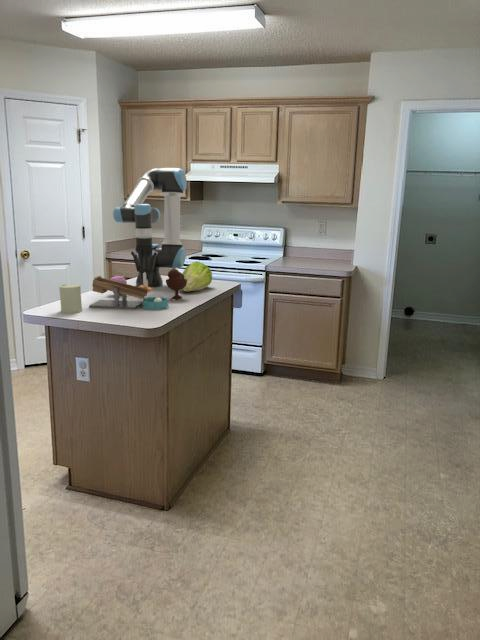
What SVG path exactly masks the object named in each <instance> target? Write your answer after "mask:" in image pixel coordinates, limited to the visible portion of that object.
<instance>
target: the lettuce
mask: <svg viewBox="0 0 480 640" xmlns="http://www.w3.org/2000/svg"><path fill="white" fill-rule="evenodd" d="M181 273H182V274H183V275H184V279H187V284H186V286H185V287H184V288H183V289H182V290H183V291H185V292H192V291H193V292H195V291H203V290H204V289H206V288H208V286H209V285H210V284H211V283H212V280H213V273H212V270H211V268H210V267H209V266H208V265H206V264H205V263H204V262H200V261H198V260H197V261H195V262H191V263H190V264H188V265H187V266H186V267H185V269H184V270H183V272H181Z"/></svg>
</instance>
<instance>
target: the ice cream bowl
mask: <svg viewBox="0 0 480 640" xmlns="http://www.w3.org/2000/svg"><path fill="white" fill-rule="evenodd" d="M182 273H183V272H180V271H179V270H178V269H177V268H171V269H170V270H169V271H168V273H167V277H168V278H166V279H165V283H166V286H167V287H168V289H171V290H172V291H174V295H173V296H172V297H171V299H172V300H173V299H176V301H177V300H178V299H180V300H182V299H183V297H182V296H181V295H179V292H180V291H181V290H183V288H184V287H185V286H186V284H187V279H184V275H183V274H182Z"/></svg>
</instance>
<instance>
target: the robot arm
mask: <svg viewBox="0 0 480 640" xmlns="http://www.w3.org/2000/svg"><path fill="white" fill-rule="evenodd" d="M187 186H188V181H187V176H186V174H185V171H184V169H183V168H179V167H155V168H151V169H149V170H147V171H145V172H144V173H142V174H141V175H140V176H139V178H138V179H137V181H136V186H135V187H134V189H133V190H132V191H131V192H130V194H129V196H128V197H127V199H126V200H125V202H124V203H123V205H122V206H116V207H114V209H113V211H112V212H113V213H112V216H113V219H114V221H115V222H117V223H123V224H125V223H127V224H128V223H130V224H131V223H132V224H133V223H134V225H135V237H136V238H135V245H136V246H135V249H134V250H133V251H131V252H130V254H131V255H132V257H133V262H134V265H135V269H136V271H137V272H138V273H137V277H136V280H135V286H136V287H139V286H141V285H143V287H151V288H159V287H162V286H163V285H164V282H163V277H162V276H161V272H160V268H161V269H163V268H164V269H166V268H167V269H181V268H182V267H183V266H184V265H185V262H186V257H187V250H186V248H185V247H183V243H182V242H181V197H182V196H183V195H184V191H186V190H187ZM153 191H161V195H163V197H164V218H163V219H164V226H163V227H164V234H163V235H164V237H163V238H164V239H163V241H162V243H161V246H160V245H159V243H153V238H152V236H153V231H152V228H153V227H152V224H155V223H157V222H159V220H160V218H161V212H160V210H159V209H158V208H156V207H153V206H152V205H151V204H149V203H144V202H145V200H146V199H147V197H148V196H149V194H151V193H152V192H153ZM151 206H152V207H151Z"/></svg>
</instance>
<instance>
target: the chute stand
mask: <svg viewBox="0 0 480 640" xmlns="http://www.w3.org/2000/svg"><path fill="white" fill-rule="evenodd" d="M113 296H114V298H113V299H98V300H96V301H95V302H92V303H91V304H89V305H88V308H91V309H114V310H116V309H117V310H136V309H138V308H139V307H140V306H143V304H142V300H128V295H124V294H122V295H121V297H122V298H121V299H122V300H120V295H119V289H118V288H117V287H115V288H114V293H113Z"/></svg>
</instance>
